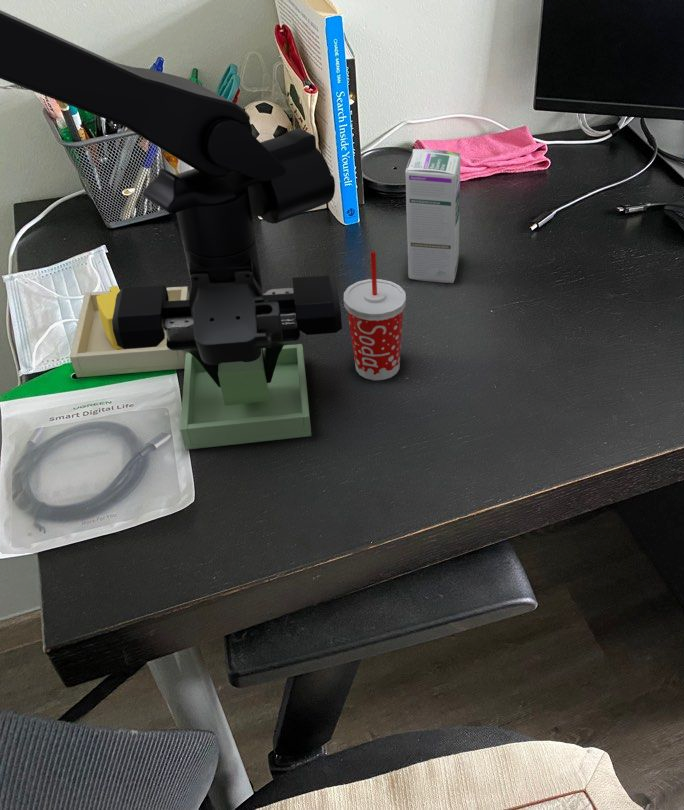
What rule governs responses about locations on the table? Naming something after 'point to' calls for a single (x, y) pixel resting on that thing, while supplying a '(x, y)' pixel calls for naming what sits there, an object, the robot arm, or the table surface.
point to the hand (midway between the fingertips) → (244, 382)
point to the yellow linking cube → (108, 313)
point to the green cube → (243, 381)
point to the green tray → (246, 406)
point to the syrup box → (433, 214)
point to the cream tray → (102, 358)
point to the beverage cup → (375, 324)
